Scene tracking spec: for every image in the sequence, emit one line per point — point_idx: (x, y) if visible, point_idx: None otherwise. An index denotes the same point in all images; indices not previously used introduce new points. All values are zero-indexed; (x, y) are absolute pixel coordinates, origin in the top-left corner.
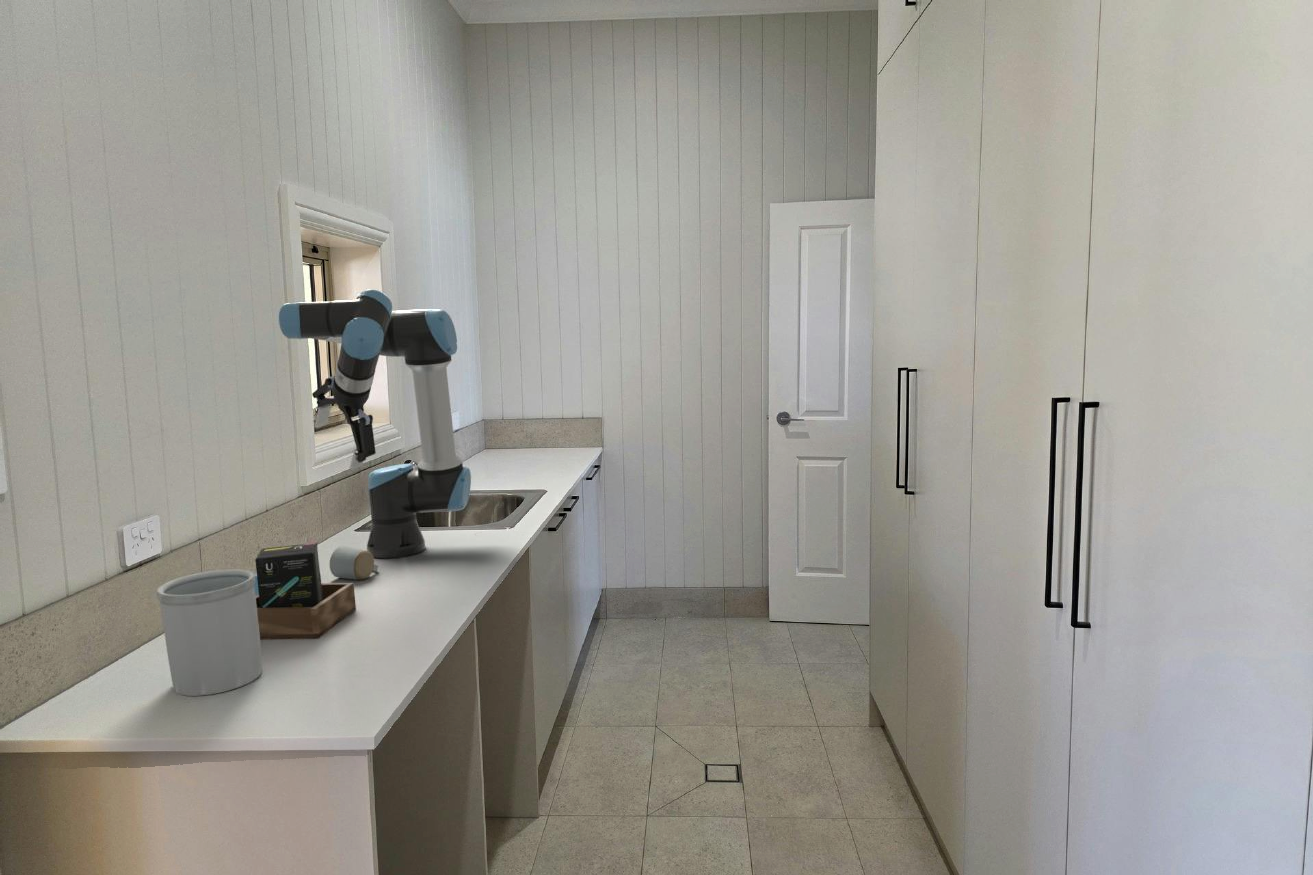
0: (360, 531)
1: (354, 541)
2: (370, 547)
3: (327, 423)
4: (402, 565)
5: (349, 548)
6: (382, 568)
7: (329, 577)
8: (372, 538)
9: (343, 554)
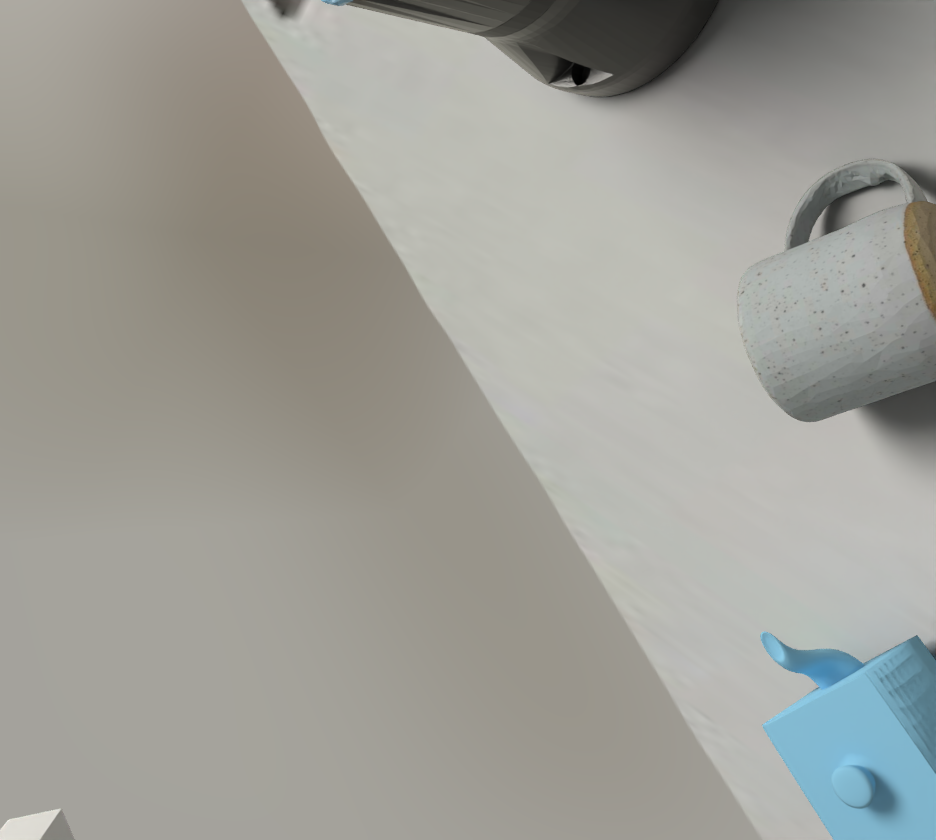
0: (300, 2)
1: (387, 67)
2: (592, 85)
3: (51, 824)
4: (892, 3)
5: (816, 324)
6: (853, 119)
7: None
8: (549, 57)
9: (849, 375)
